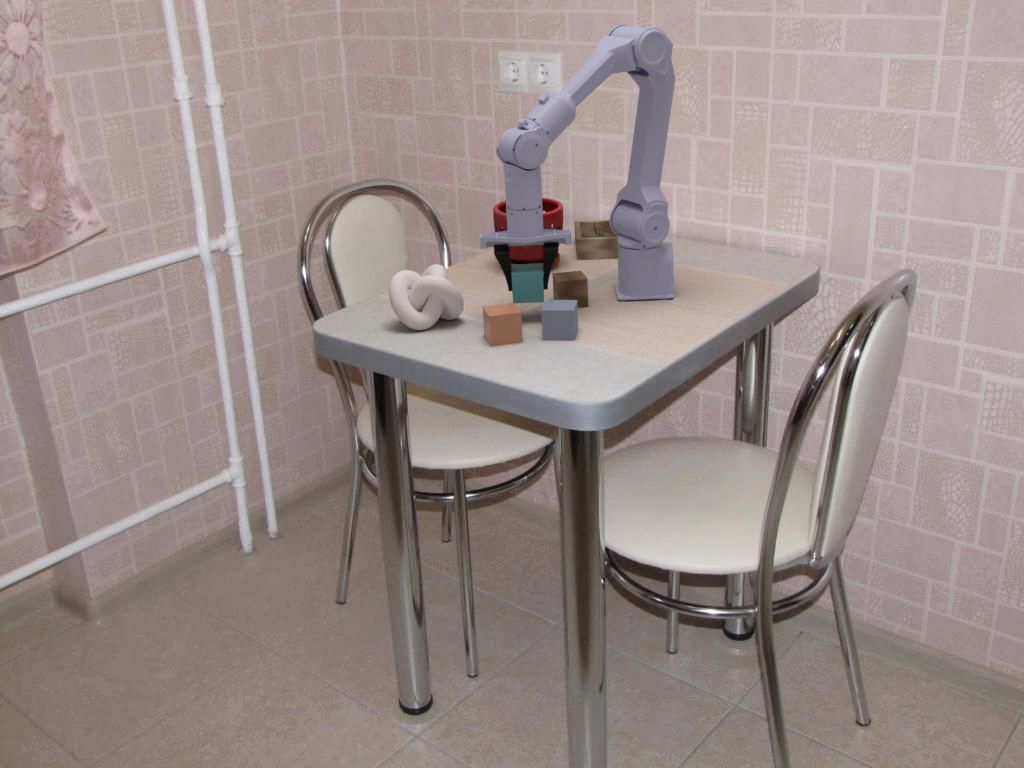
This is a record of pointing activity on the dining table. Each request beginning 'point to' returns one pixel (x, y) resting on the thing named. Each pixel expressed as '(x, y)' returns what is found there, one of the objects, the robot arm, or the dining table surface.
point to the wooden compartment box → (595, 240)
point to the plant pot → (552, 216)
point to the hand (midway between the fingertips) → (528, 288)
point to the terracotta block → (502, 324)
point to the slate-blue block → (560, 320)
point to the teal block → (527, 283)
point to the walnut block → (571, 287)
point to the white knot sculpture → (424, 297)
